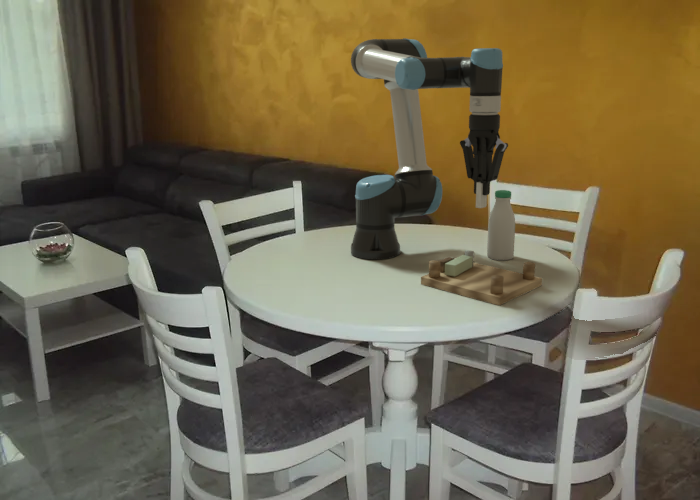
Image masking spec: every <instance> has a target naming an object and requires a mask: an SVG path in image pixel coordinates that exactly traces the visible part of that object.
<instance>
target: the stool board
mask: <svg viewBox="0 0 700 500" xmlns="http://www.w3.org/2000/svg"><path fill="white" fill-rule="evenodd" d="M453 259H455V258H454V257H450V256H447V257H445V258H442V259H438V260H436V259H435V260H430V261H428V274H425V275H421V276H420V285H422V286H427V287H431V288H434V289H438V290H441V291H446V292H449V293H453V294H456V295H460V296H463V297H467V298H471V299H474V300H478V301H482V302H485V303H488V304H493V305H496V306H501V305H504V304H506V303H508V302H510V301H511V300H514V299H516V298H519V297H520V296H523V295H525V294H526V293H528V292H529V293H530V292H531V291H533V290H535V289H537V288H540V287H541V286H542V284H543V277H539V276H536V263H535V262H533V261H524V262H523V265H522V273H521V272H517V271H513V270H508V269H504V268H499V267H496V266H491V265H487V264H482V263H478V262H474V263H473V267H472V268H470V269H468V270H466V271H464V272H462V273H460V274H459V275H457V276H455V277H454V276H449V275H445V263H447V262H449V261H451V260H453Z"/></svg>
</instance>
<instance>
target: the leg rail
mask: <svg viewBox="0 0 700 500" xmlns="http://www.w3.org/2000/svg"><path fill="white" fill-rule="evenodd" d="M474 255H475V252H474V250H465V251H464V254H461V255H460V256H458V257H455V258H454V259H453V260H451V261H449V262H447V263H445V275H449V276H454V277H455V276H457V275H459V274H460V273H462V272H464V271H466V270H468V269H470V268H472V267H473V263H475V262H474V260H475V259H474Z"/></svg>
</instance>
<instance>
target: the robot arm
mask: <svg viewBox="0 0 700 500" xmlns="http://www.w3.org/2000/svg"><path fill="white" fill-rule="evenodd" d="M350 65H351V68H352V70H353V71H354V72H355V74H356V75H358V76H359V77H361V78H364V79H369V80H371V79H372V80H383V85H384V88H386V89H387V91H389V93H390V100H391V102H390V103H391V110H392V111H391V112H392V119H393V128H394V138H395V144H396V153H397V155H396V156H397V163H398V169H397V171H395V173H394V175H391V174H377V175H376V174H375V175H371V176H366V177H363V178H362V179H360V180H359V181H358V182H357V183H356V186H355V195H354V197H355V224H356V225H355V226H356V227H355V231H354V235H353V239H352V243H351V245H350V254H351V256H353V257H356V258H357V259H358V258H359V259H363V260H386V259H391V258H395V257H397V256H399V255H400V254H401V245H400V243H399V240H398V236H397V232H396V230H395V229H396V228H395V219H396V218H406V217H417V216H424V215H431V214H433V213H435V212H436V211H437V210H438V209H439V207H440V205H441V202H442V201H443V185H442V181H441V180H440V179H441V178H439V177H438V176H436V175H434V173H433V169H432V168H431V167H430V166H429V165H428V163H427V155H426V146H425V140H424V139H425V138H424V136H425V135H424V131H423V121H422V114H421V113H422V111H421V104H420V103H421V102H420V95H419V94H420V93H419V90H421V89H424V90H425V89H458V88H461V89H462V88H465V89H467V88H469V112H470V113H471V114H469V116H468V128H469V132H468V134H467V137H466V138H465V139H463V140H460V141H459V144H460V147H461V149H462V152H463V157H464V164H465V169H466V176H467V178H468V179H470V180H472V181H473V194H475V208H478V209H485V208H486V207H487V204H488V195H490V191H491V183H492V181H497V180H498V177H499V173H500V170H501V165H502V162H503V160H504V159H503V158H504V154H505V152H506V151H507V149H508V147H509V143H507V142H504V141H503V140H502V139H501V136H500V133H499V131H500V127H501V126H500V125H501V124H500V123H501V115H500V114H499V113H500V112H501V108H502V107H501V106H502V103H501V102H502V83H503V82H502V81H503V67H504V64H503V50H502V49H500V48H497V47H493V48H492V47H489V48H488V47H485V48H480V47H479V48H474V49H472V51H471V54H470V56H453V57H452V56H449V57H448V56H447V57H428V55H427V51H426V48H425V47H424V45H423V44H422V43H421V42H420V41H419V40H417V39H414V38H413V39H410V38H381V39H380V38H379V39H378V38H372V39H367V40H364V41H362V42H360V43H359V44H358V45H357V46H355V48H354V49H353V51H352V53H351V58H350ZM494 150H495V151H494Z"/></svg>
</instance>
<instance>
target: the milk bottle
mask: <svg viewBox="0 0 700 500" xmlns="http://www.w3.org/2000/svg"><path fill="white" fill-rule="evenodd" d="M494 199H495V202H494V204H493V207H492V209H491V212H490V213H489V218H488V225H487V226H488V227H487V246H486V249H487V250H486V255H487V258H488V259H491V260H494V261H510V260H512V259H513V258H514V255H515V254H514V252H515V239H516V238H515V235H516V217H515V213H514V211H513V207H512V203H511V200H512V191H511V190H507V189H498V190H496V191H495V192H494Z"/></svg>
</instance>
